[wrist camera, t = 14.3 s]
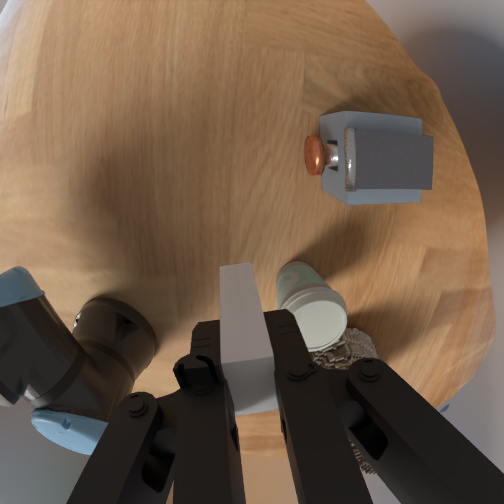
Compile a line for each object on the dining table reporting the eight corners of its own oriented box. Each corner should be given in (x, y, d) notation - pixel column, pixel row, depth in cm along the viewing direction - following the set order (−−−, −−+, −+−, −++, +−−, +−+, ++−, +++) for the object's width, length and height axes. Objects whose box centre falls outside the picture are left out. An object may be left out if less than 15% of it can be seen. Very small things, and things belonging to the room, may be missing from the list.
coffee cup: (287, 241, 39) (309, 283, 28) (333, 267, 42) (365, 312, 31) (256, 288, 42) (264, 341, 31) (302, 310, 44) (321, 362, 33)
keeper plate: (343, 189, 27) (347, 191, 26) (342, 127, 25) (345, 127, 24) (427, 189, 27) (432, 191, 26) (428, 134, 25) (433, 134, 24)
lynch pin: (305, 172, 34) (315, 178, 29) (303, 136, 32) (313, 136, 28) (406, 171, 34) (425, 177, 30) (406, 139, 32) (426, 141, 28)
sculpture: (382, 368, 52) (430, 460, 29) (325, 397, 54) (357, 495, 31) (357, 306, 45) (429, 423, 22) (286, 344, 47) (319, 475, 24)
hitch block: (322, 189, 37) (347, 205, 29) (318, 116, 33) (345, 110, 25) (385, 187, 37) (420, 202, 29) (384, 119, 33) (421, 118, 25)
